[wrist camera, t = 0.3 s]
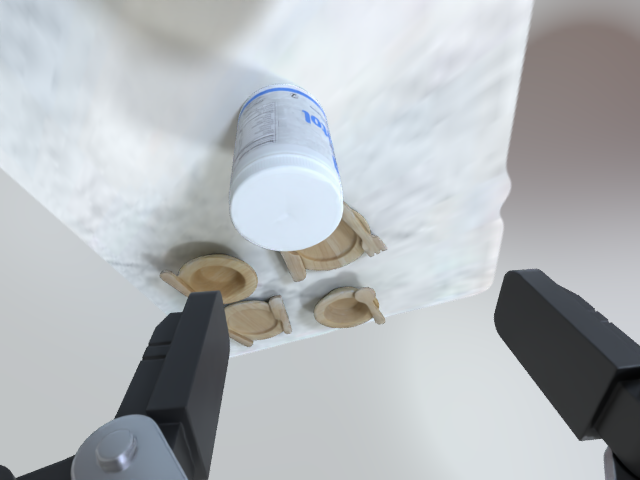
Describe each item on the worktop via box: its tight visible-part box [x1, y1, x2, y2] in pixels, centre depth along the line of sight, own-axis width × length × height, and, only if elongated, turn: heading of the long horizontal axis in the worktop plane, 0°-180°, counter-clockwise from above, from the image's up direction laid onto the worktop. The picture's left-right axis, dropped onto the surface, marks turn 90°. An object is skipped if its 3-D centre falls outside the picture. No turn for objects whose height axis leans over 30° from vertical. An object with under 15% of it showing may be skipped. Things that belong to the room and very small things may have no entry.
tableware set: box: [160, 202, 387, 347], centre depth 58 cm, size 35×29×4 cm
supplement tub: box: [229, 84, 343, 251], centre depth 34 cm, size 10×10×15 cm
